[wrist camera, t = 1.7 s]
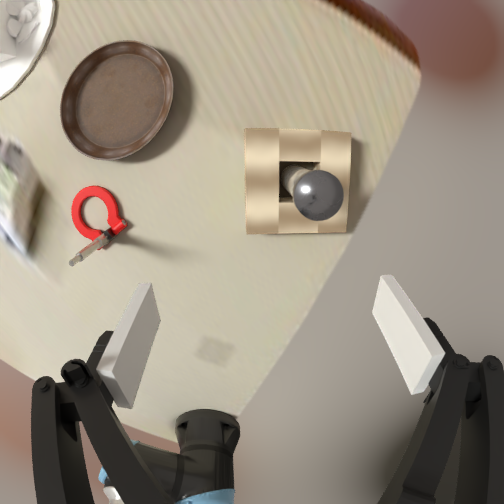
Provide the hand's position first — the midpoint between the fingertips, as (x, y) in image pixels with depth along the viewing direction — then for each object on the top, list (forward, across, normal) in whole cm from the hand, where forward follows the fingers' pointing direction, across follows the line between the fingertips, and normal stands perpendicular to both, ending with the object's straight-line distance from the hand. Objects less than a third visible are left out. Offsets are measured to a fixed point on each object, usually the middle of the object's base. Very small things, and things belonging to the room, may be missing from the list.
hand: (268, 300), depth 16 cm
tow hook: (+26, +25, +3) cm, 36 cm away
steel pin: (+28, -6, 0) cm, 28 cm away
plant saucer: (+28, +19, -14) cm, 37 cm away
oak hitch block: (+28, -6, 0) cm, 28 cm away
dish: (+29, +45, -33) cm, 63 cm away
